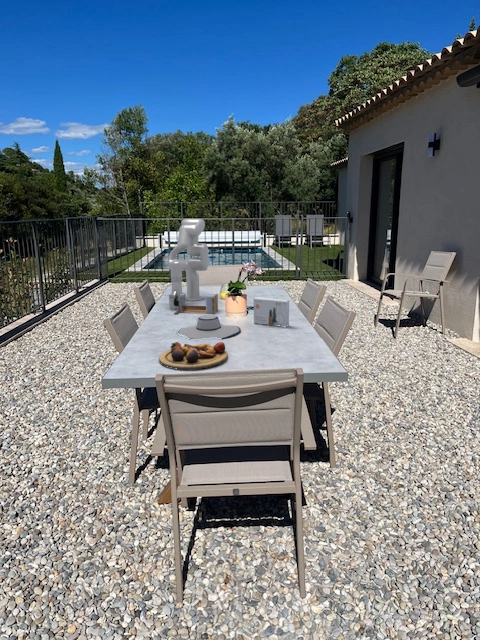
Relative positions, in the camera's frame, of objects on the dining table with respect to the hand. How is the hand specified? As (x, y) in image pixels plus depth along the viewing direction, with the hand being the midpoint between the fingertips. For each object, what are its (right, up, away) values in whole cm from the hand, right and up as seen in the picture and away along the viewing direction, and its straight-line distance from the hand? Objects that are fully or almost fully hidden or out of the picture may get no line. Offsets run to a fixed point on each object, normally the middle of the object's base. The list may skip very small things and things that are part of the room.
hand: (177, 304), depth 312 cm
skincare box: (+62, -14, -44) cm, 77 cm away
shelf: (+14, -6, -13) cm, 20 cm away
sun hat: (+26, -18, -56) cm, 64 cm away
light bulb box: (0, -3, +1) cm, 3 cm away
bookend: (+4, -4, -11) cm, 13 cm away
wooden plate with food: (+22, -30, -102) cm, 108 cm away
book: (+24, -5, -14) cm, 28 cm away
